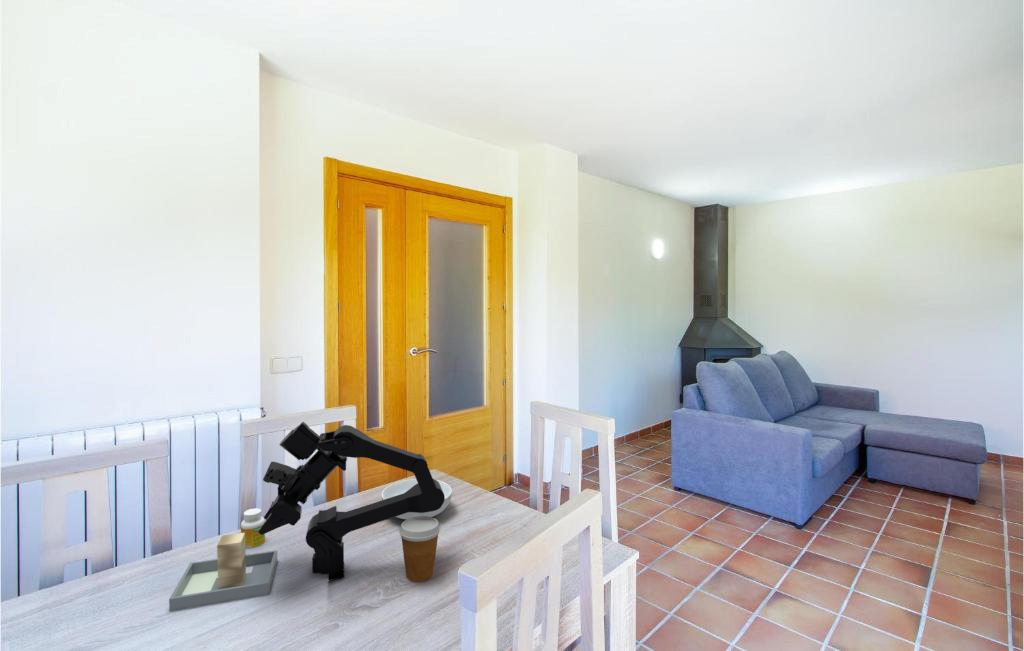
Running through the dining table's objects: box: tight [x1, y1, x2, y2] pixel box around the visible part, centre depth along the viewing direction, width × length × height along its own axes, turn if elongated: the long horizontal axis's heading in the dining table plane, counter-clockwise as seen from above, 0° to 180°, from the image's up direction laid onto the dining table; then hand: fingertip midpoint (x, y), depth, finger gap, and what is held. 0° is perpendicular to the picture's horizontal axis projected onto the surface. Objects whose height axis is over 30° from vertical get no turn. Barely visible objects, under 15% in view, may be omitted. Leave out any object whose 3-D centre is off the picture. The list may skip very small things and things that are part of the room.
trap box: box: [168, 549, 278, 612], centre depth 107 cm, size 18×14×4 cm
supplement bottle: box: [240, 507, 266, 549], centre depth 124 cm, size 5×5×10 cm
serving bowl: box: [380, 478, 453, 520], centre depth 146 cm, size 21×21×7 cm
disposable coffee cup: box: [398, 516, 441, 582], centre depth 113 cm, size 10×10×12 cm
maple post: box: [216, 532, 247, 590], centre depth 107 cm, size 4×4×10 cm
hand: (262, 525), depth 108 cm, fingers open, 7 cm apart
